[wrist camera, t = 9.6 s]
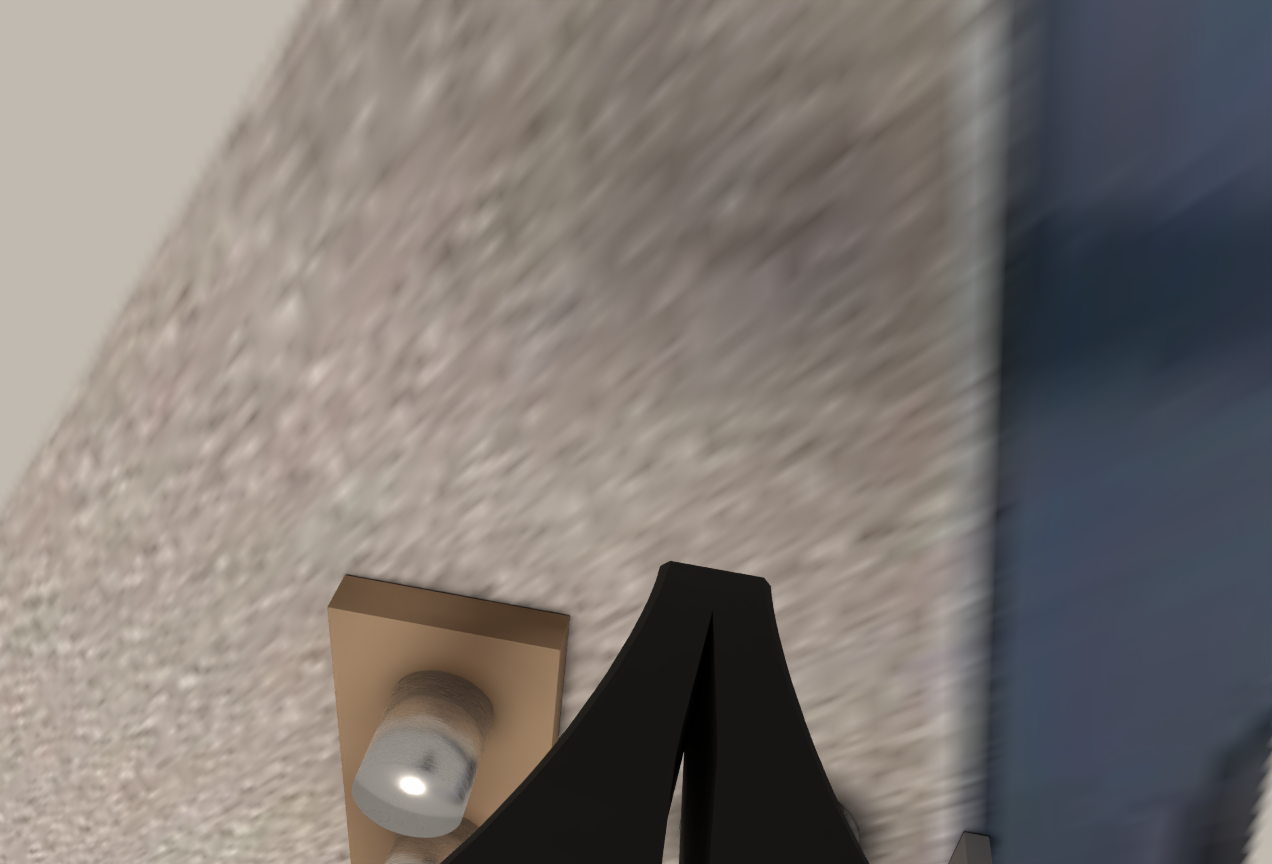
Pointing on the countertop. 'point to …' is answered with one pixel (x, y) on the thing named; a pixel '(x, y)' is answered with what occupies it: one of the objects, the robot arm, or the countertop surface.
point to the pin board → (455, 644)
